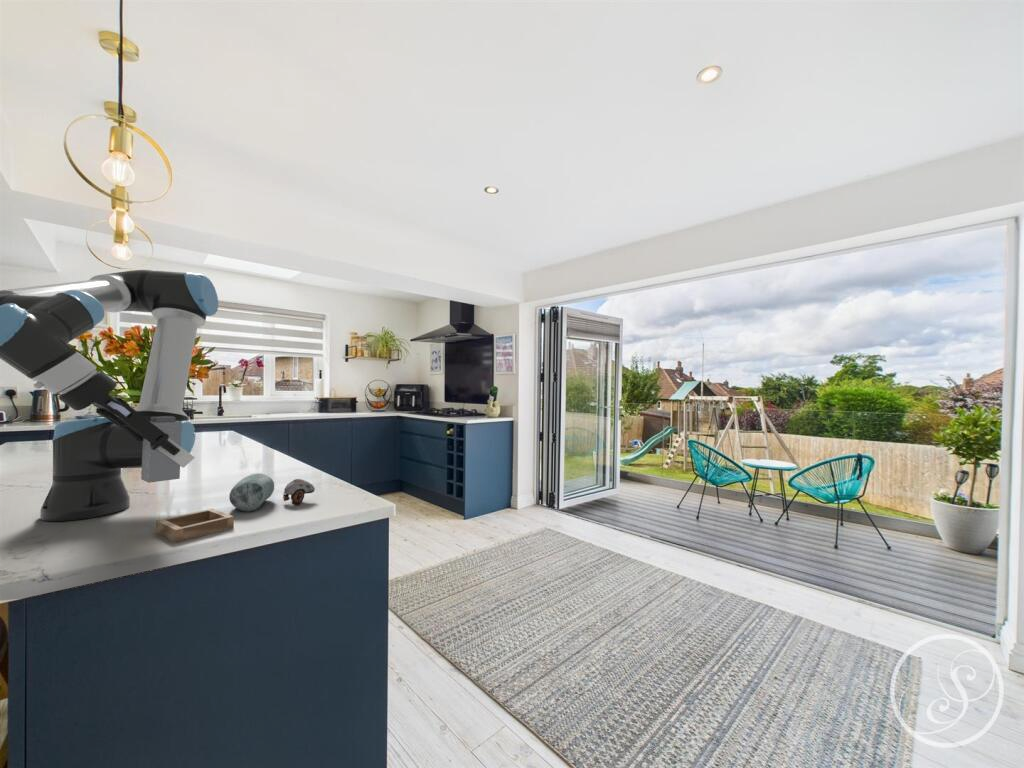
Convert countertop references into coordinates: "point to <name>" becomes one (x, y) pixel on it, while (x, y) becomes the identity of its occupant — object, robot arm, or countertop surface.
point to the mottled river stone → (251, 492)
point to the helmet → (297, 490)
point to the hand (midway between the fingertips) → (183, 460)
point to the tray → (194, 525)
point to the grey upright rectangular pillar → (155, 461)
